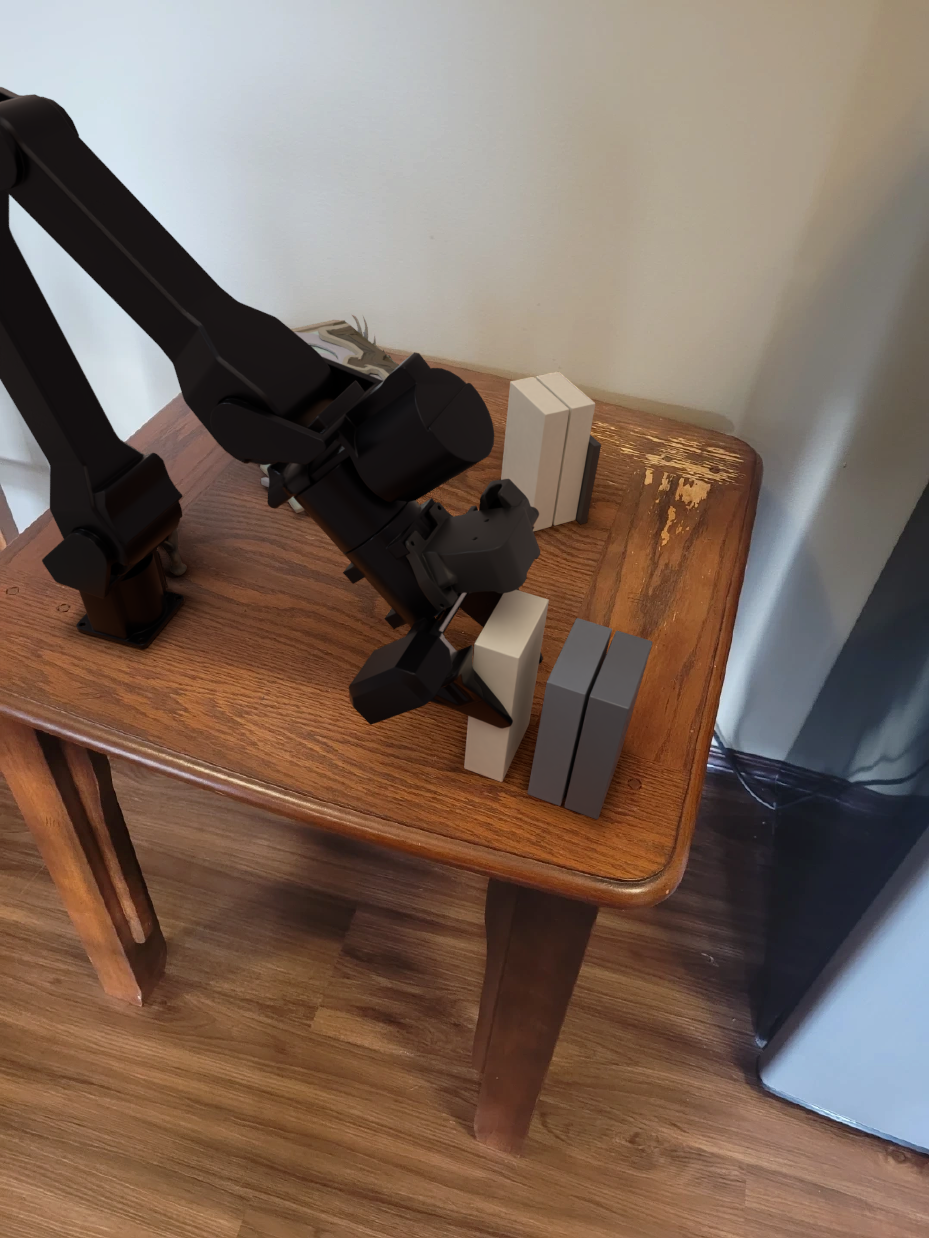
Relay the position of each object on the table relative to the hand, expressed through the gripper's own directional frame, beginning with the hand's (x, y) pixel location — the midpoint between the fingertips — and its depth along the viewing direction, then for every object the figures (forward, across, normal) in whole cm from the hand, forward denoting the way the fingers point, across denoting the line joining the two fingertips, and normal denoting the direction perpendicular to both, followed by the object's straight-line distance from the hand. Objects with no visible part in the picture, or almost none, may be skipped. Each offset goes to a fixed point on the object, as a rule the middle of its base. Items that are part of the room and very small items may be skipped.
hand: (523, 693), depth 59 cm
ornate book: (-19, +32, +29) cm, 47 cm away
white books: (-1, +30, +10) cm, 32 cm away
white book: (+4, 0, +6) cm, 7 cm away
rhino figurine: (-24, +9, +33) cm, 42 cm away
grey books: (+8, 0, +1) cm, 8 cm away
